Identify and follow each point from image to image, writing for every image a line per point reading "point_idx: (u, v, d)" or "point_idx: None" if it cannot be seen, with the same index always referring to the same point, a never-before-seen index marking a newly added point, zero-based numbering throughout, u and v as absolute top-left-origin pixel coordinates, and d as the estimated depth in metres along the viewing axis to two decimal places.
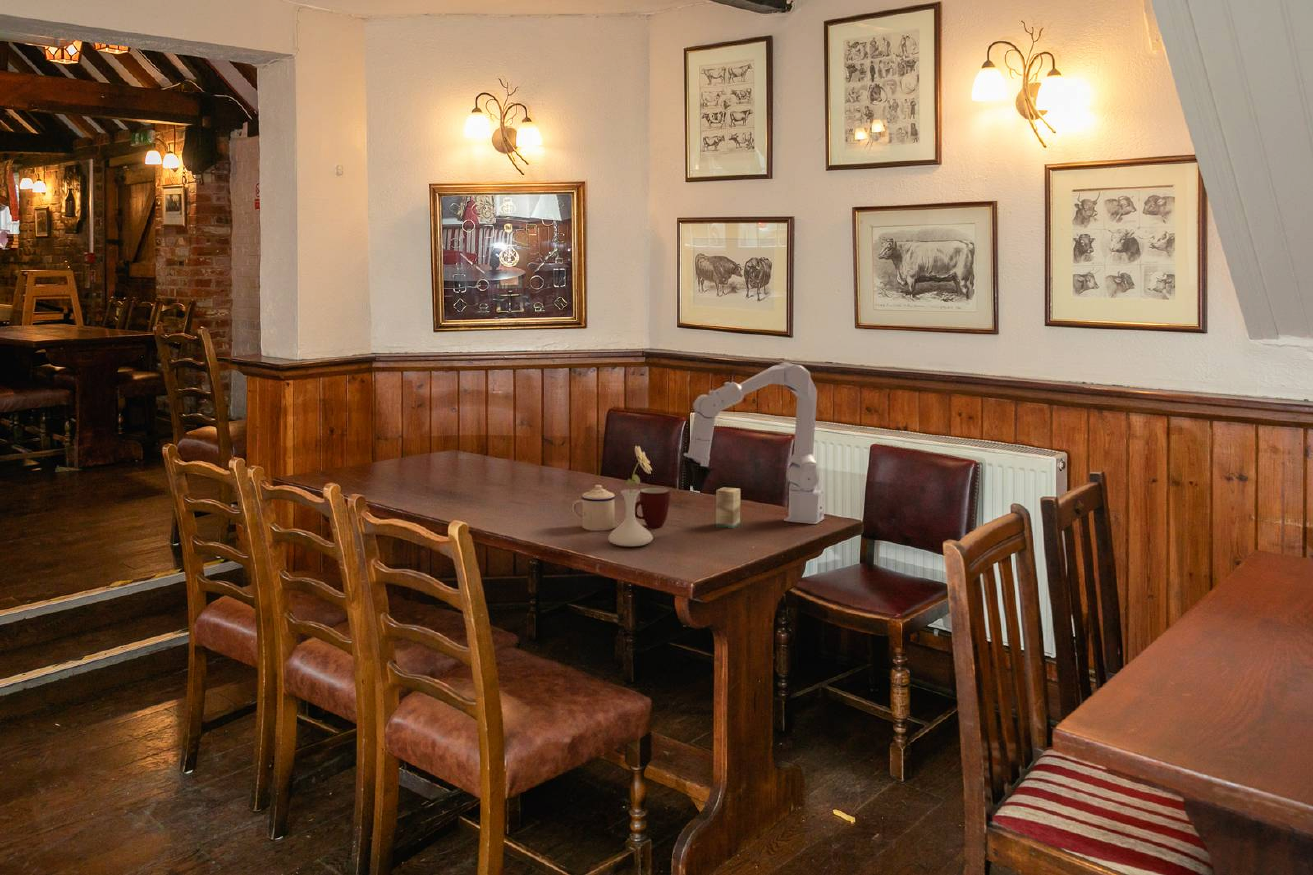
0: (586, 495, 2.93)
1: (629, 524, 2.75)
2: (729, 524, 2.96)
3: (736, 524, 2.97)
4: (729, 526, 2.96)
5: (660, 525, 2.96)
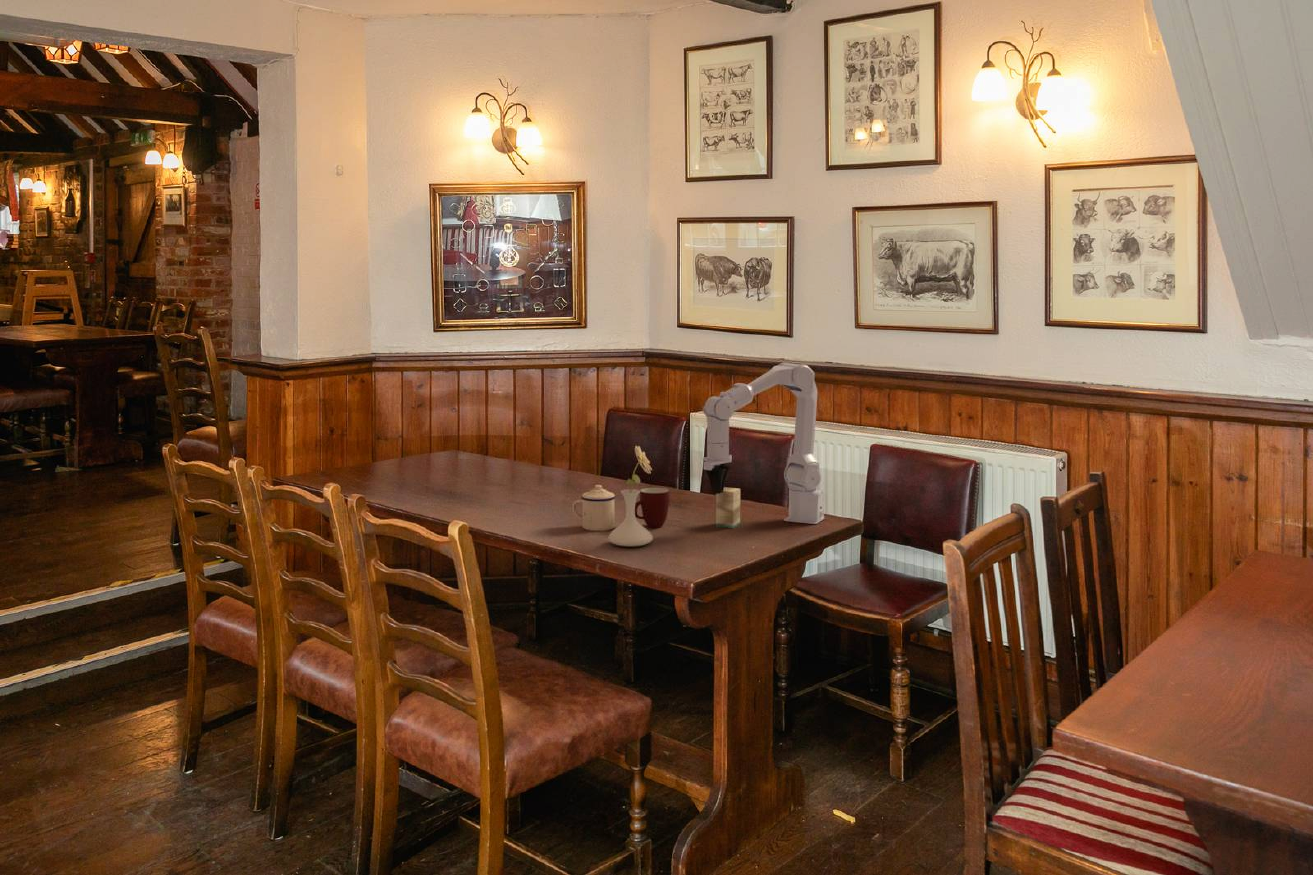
0: (586, 495, 2.93)
1: (629, 524, 2.75)
2: (729, 524, 2.96)
3: (736, 524, 2.97)
4: (729, 526, 2.96)
5: (660, 525, 2.96)
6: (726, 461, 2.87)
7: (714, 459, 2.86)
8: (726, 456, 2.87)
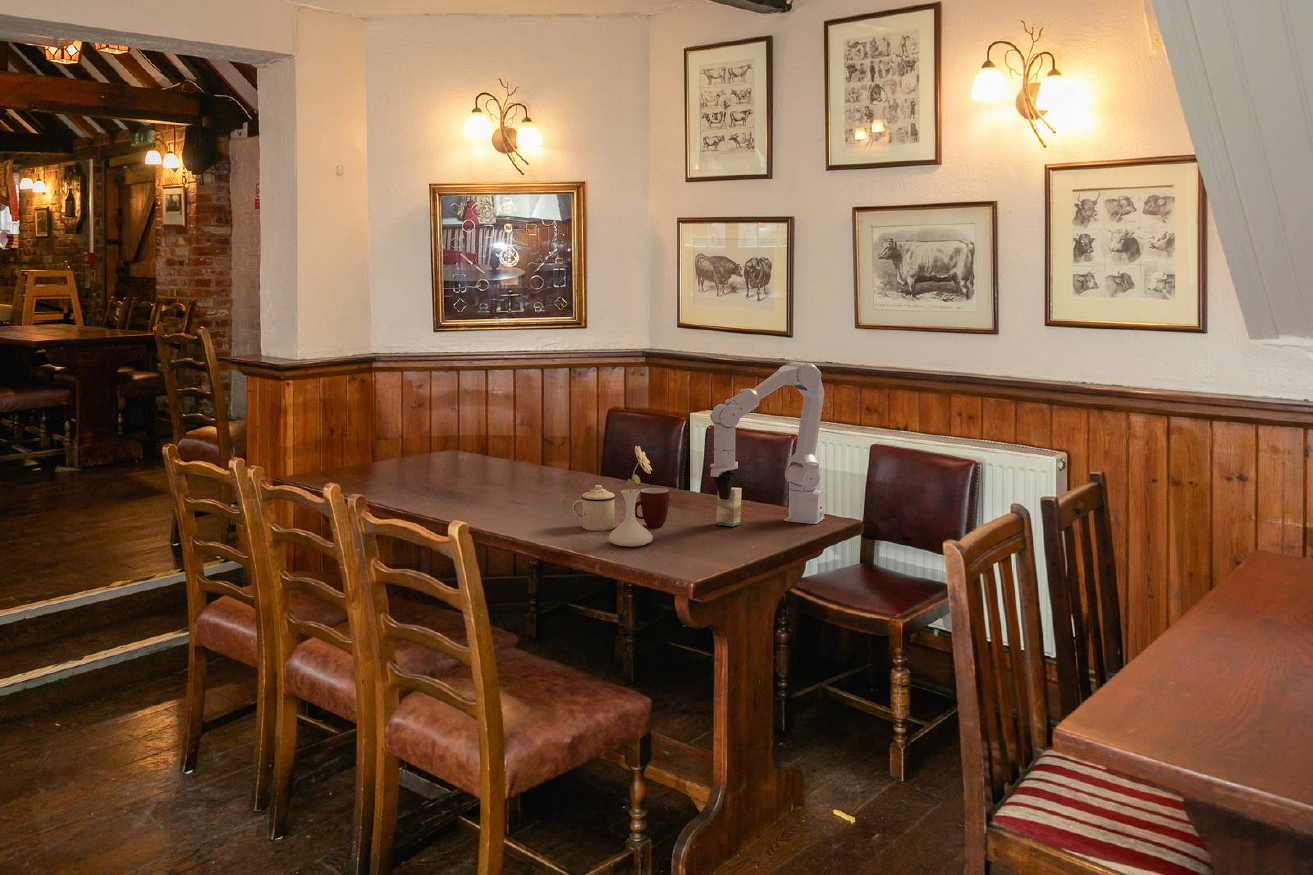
0: (586, 495, 2.93)
1: (629, 524, 2.75)
2: (729, 522, 2.96)
3: (736, 523, 2.97)
4: (729, 524, 2.96)
5: (660, 525, 2.96)
6: (733, 468, 2.92)
7: (721, 466, 2.91)
8: (733, 463, 2.92)
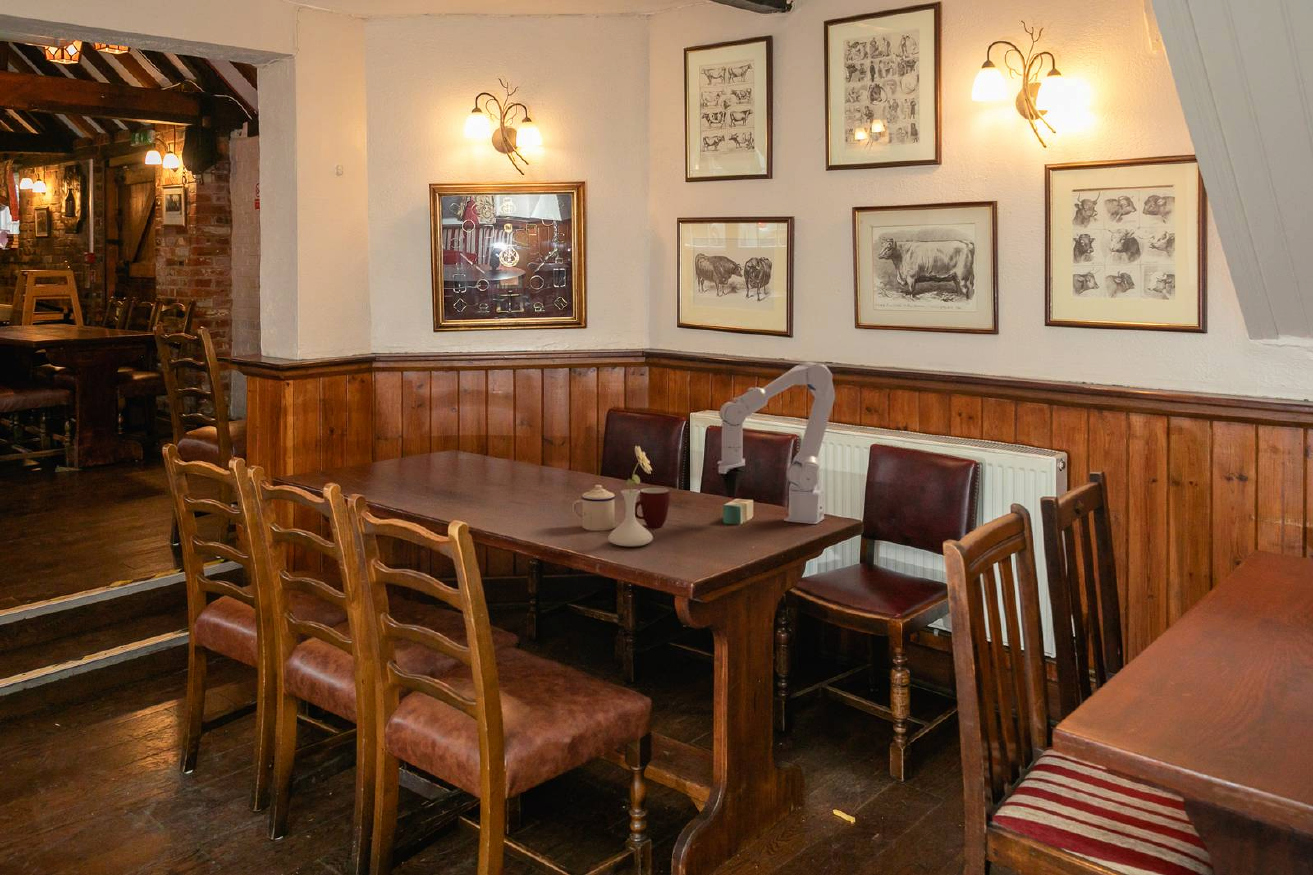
0: (586, 495, 2.93)
1: (629, 524, 2.75)
2: (737, 505, 3.00)
3: (740, 515, 3.00)
4: (736, 506, 3.00)
5: (660, 525, 2.96)
6: (740, 465, 2.96)
7: (728, 463, 2.96)
8: (740, 460, 2.96)
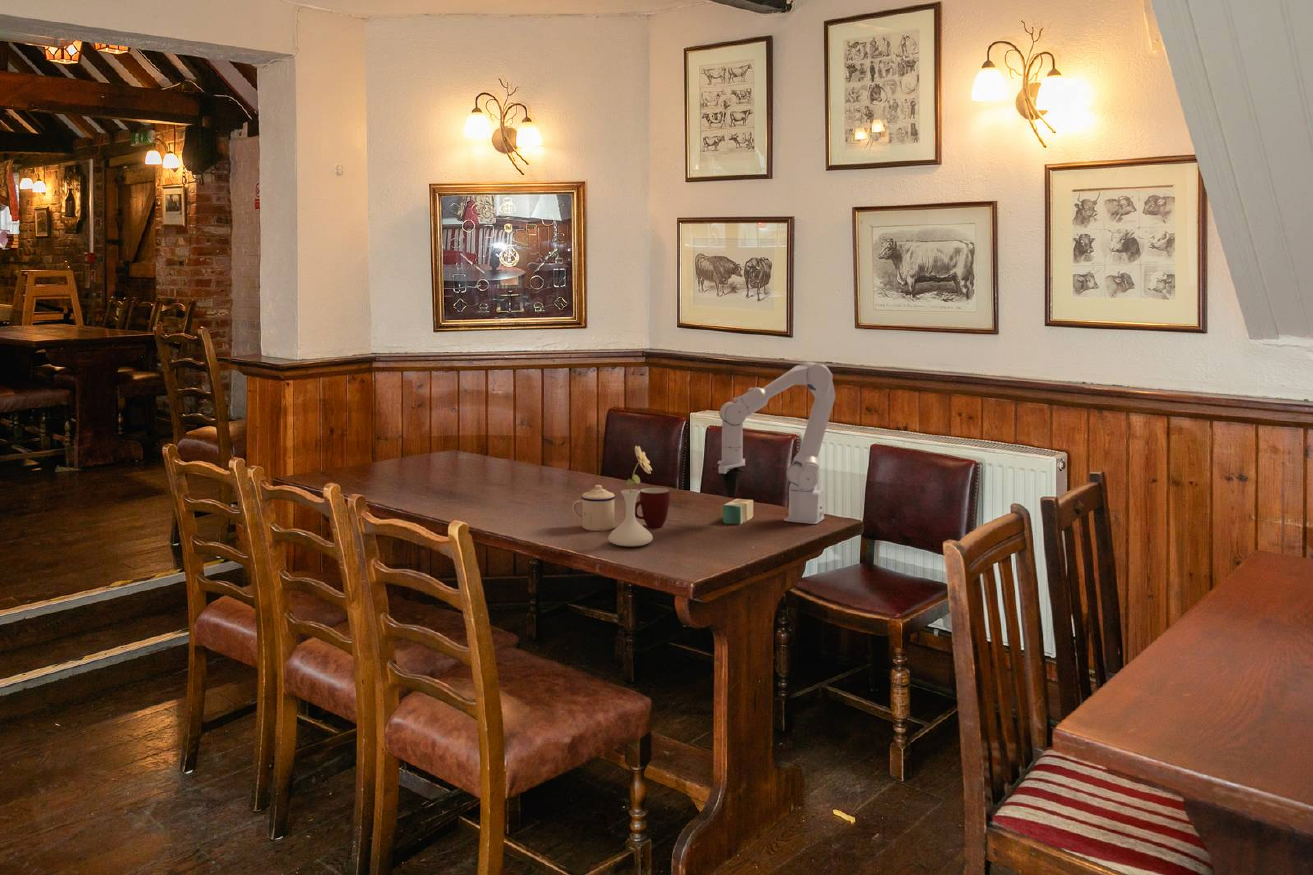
0: (586, 495, 2.93)
1: (629, 524, 2.75)
2: (737, 505, 3.00)
3: (740, 514, 3.00)
4: (736, 506, 3.00)
5: (660, 525, 2.96)
6: (740, 465, 2.96)
7: (728, 463, 2.96)
8: (740, 460, 2.96)
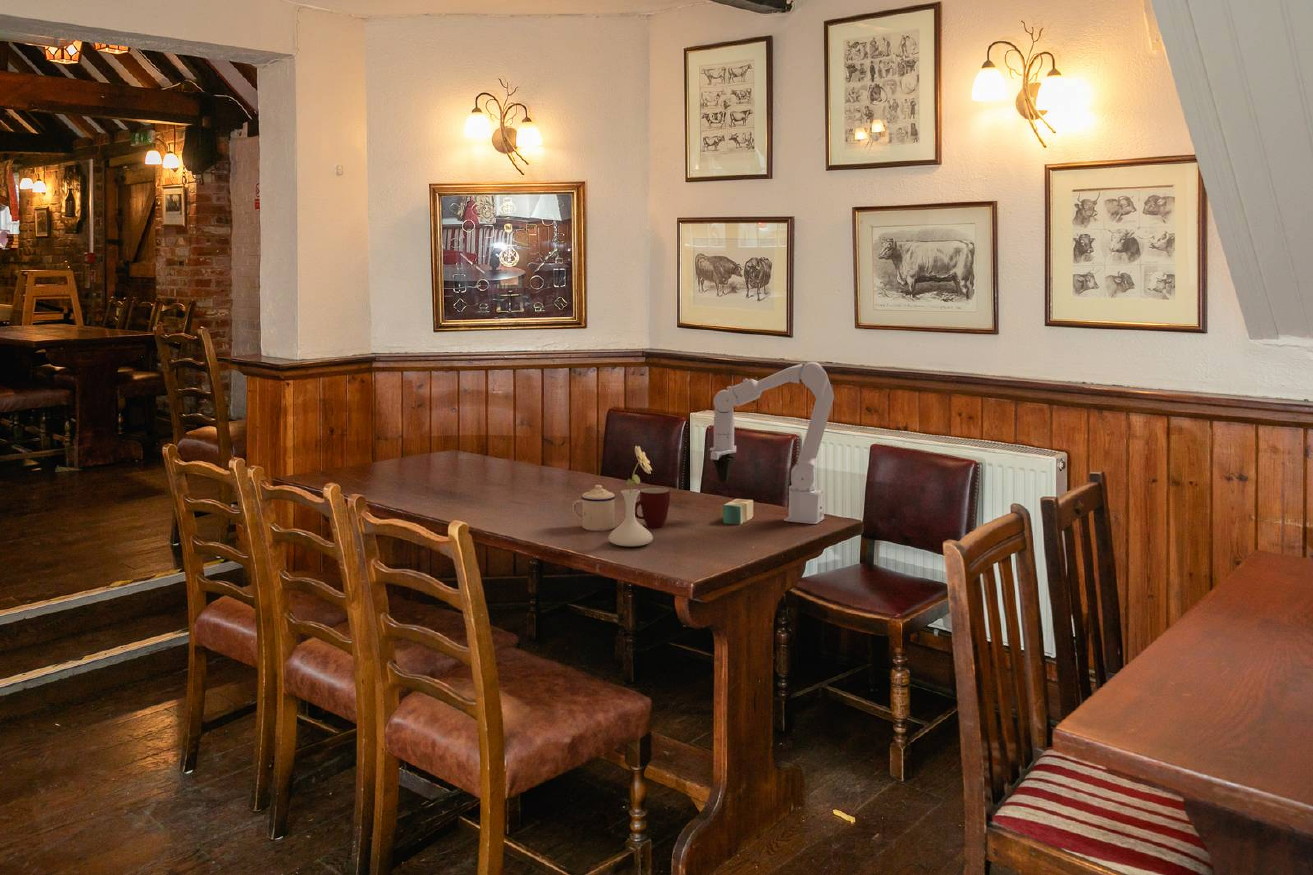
0: (586, 495, 2.93)
1: (629, 524, 2.75)
2: (737, 505, 3.01)
3: (740, 514, 3.00)
4: (736, 506, 3.00)
5: (660, 525, 2.96)
6: (732, 451, 3.03)
7: (720, 449, 3.02)
8: (732, 446, 3.03)
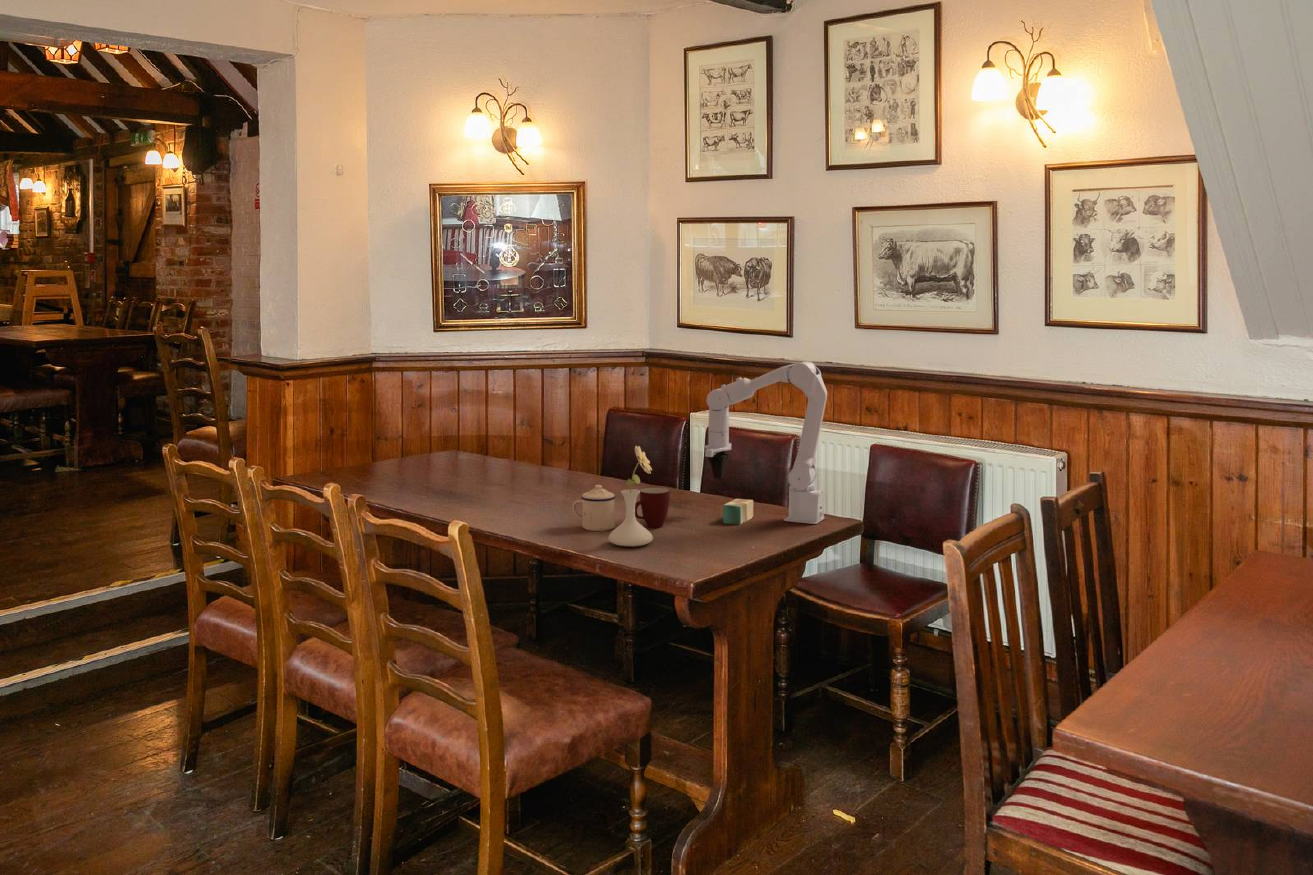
0: (586, 495, 2.93)
1: (629, 524, 2.75)
2: (737, 505, 3.00)
3: (740, 515, 3.00)
4: (736, 506, 3.00)
5: (660, 525, 2.96)
6: (726, 449, 3.08)
7: (715, 447, 3.07)
8: (726, 444, 3.08)
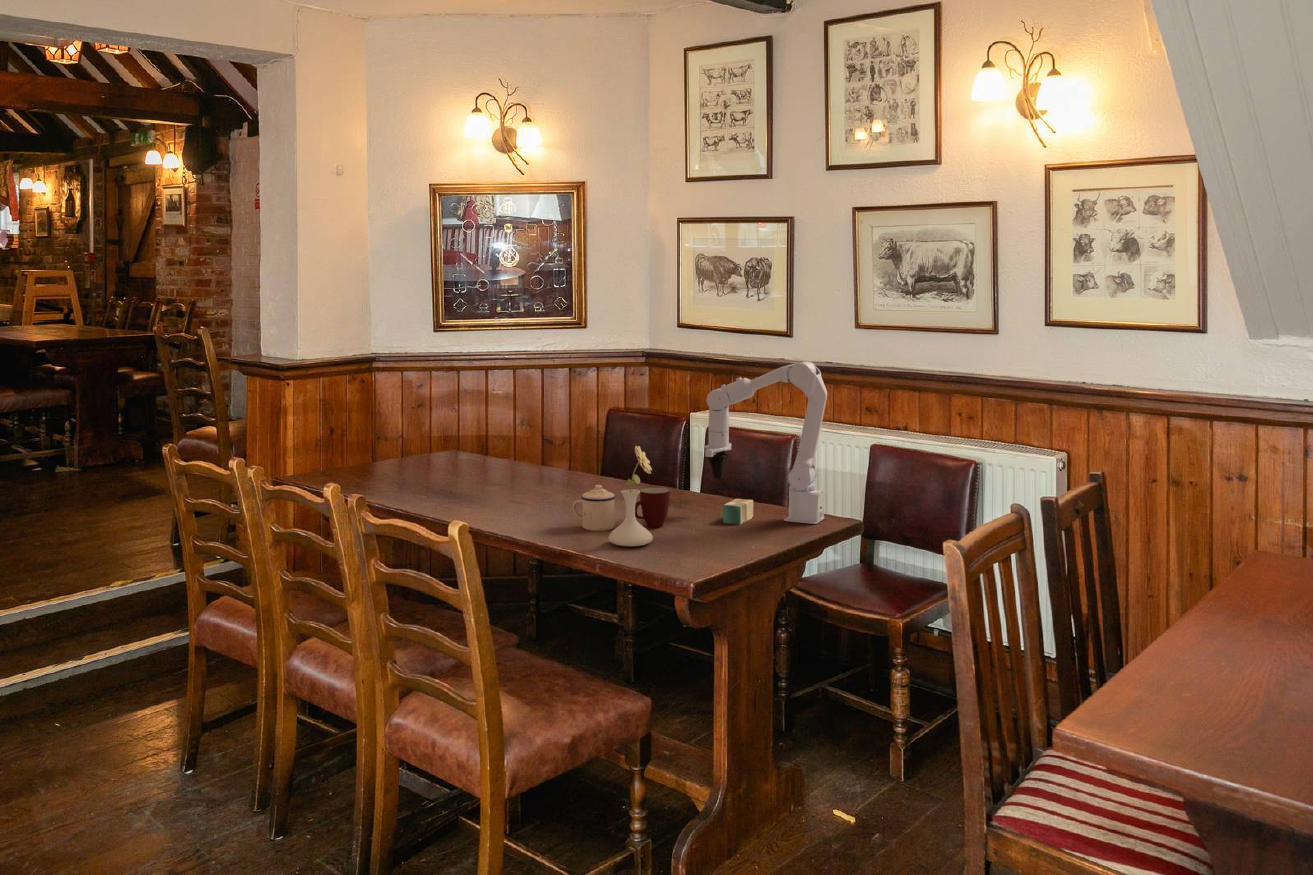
0: (586, 495, 2.93)
1: (629, 524, 2.75)
2: (737, 505, 3.00)
3: (740, 515, 3.00)
4: (736, 506, 3.00)
5: (660, 525, 2.96)
6: (726, 449, 3.08)
7: (715, 447, 3.07)
8: (726, 444, 3.08)
